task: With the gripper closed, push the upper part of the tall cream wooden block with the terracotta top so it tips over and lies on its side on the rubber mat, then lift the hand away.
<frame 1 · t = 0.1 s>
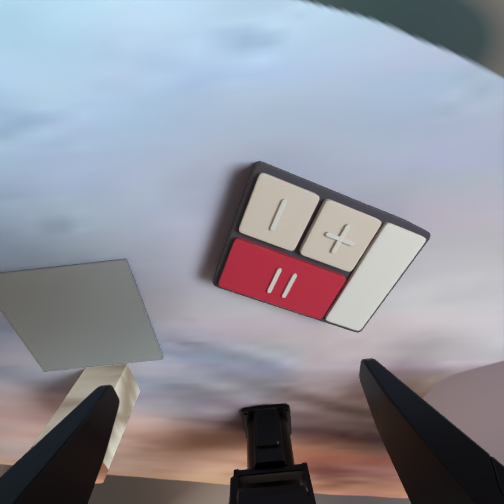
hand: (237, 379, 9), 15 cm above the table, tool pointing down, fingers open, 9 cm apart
block: (113, 380, 30), on the table
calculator: (307, 244, 23), on the table
mat: (81, 320, 26), on the table
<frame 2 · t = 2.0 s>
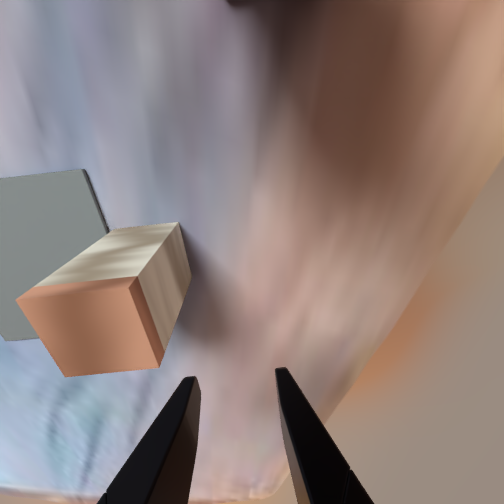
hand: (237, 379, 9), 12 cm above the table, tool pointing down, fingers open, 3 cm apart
block: (155, 254, 20), on the table
mat: (40, 267, 20), on the table
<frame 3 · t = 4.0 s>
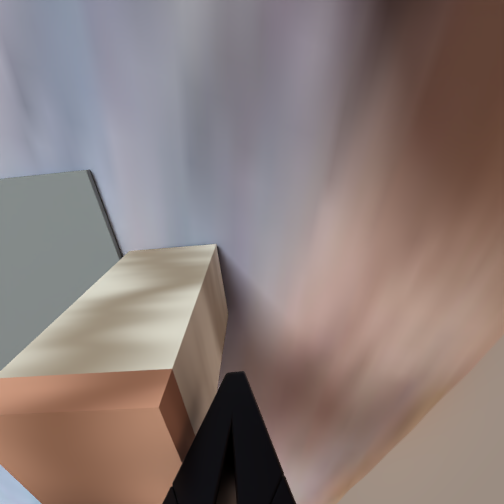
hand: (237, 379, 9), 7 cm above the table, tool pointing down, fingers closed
block: (182, 284, 15), on the table, touching gripper
mat: (28, 299, 15), on the table
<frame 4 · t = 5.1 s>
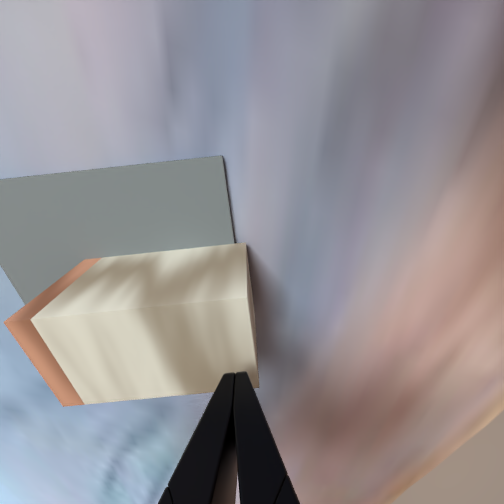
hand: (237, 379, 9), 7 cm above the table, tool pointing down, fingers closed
block: (251, 308, 12), point 3 cm above the table, tilted 90°, touching mat
mat: (133, 290, 15), on the table
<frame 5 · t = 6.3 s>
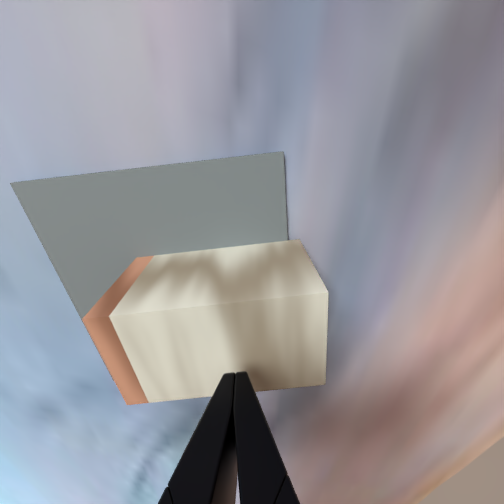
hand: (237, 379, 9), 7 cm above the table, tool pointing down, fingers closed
block: (311, 304, 12), point 3 cm above the table, tilted 90°, touching mat
mat: (181, 288, 15), on the table
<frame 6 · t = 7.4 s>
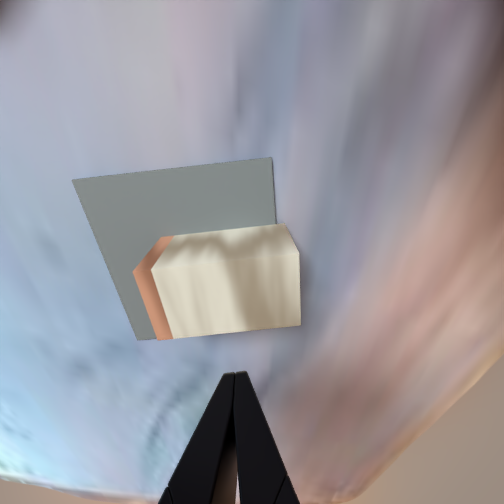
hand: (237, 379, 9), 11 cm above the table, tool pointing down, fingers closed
block: (292, 270, 16), point 3 cm above the table, tilted 90°, touching mat
mat: (194, 262, 19), on the table
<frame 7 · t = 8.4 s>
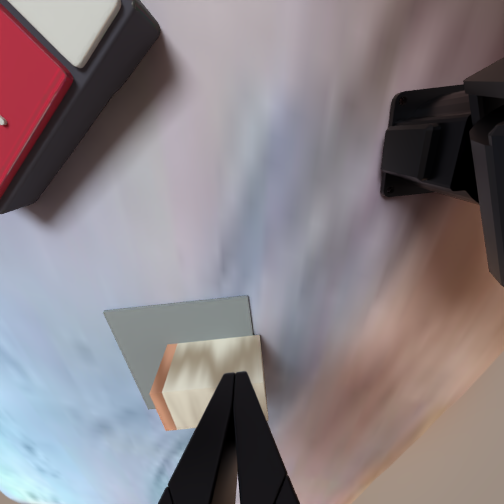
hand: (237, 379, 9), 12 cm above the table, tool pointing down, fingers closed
block: (263, 375, 22), point 3 cm above the table, tilted 90°, touching mat
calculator: (12, 53, 14), on the table
mat: (192, 358, 25), on the table
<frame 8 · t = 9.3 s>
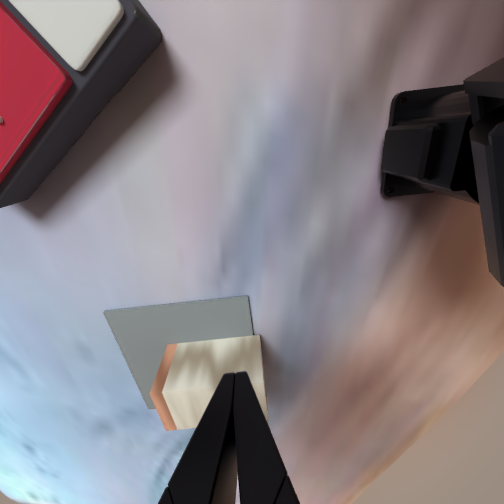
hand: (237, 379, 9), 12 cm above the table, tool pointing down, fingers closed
block: (263, 375, 22), point 3 cm above the table, tilted 90°, touching mat
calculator: (11, 50, 14), on the table
mat: (192, 358, 25), on the table
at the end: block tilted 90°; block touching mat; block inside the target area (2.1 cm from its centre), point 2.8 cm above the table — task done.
